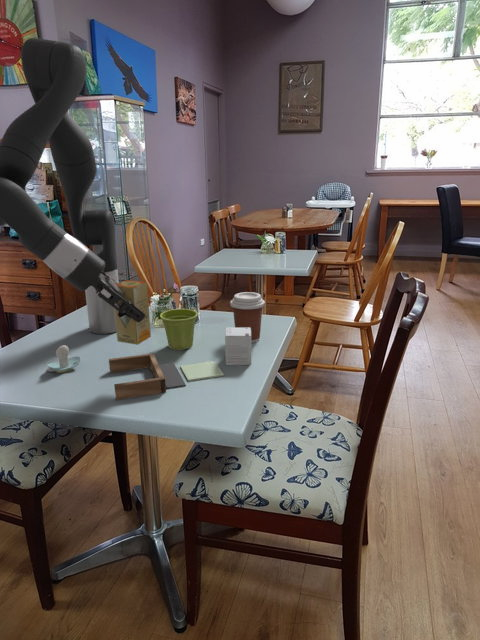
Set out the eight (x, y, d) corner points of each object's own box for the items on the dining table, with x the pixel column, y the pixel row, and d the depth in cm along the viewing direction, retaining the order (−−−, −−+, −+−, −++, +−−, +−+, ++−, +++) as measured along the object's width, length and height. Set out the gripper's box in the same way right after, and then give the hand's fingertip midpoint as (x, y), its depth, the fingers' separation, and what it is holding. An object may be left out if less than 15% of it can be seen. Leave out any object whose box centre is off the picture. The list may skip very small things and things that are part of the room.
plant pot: (192, 354, 119) (191, 320, 116) (156, 351, 121) (154, 318, 118) (203, 341, 128) (202, 309, 125) (169, 339, 130) (167, 308, 127)
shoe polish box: (131, 333, 105) (126, 279, 101) (150, 336, 103) (147, 282, 99) (117, 341, 101) (112, 285, 97) (137, 344, 99) (133, 287, 95)
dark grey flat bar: (157, 367, 112) (157, 366, 112) (174, 364, 113) (174, 363, 113) (167, 388, 101) (166, 387, 101) (185, 385, 102) (185, 384, 102)
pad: (180, 367, 111) (180, 365, 111) (213, 362, 114) (213, 361, 114) (188, 381, 104) (188, 379, 104) (223, 375, 107) (223, 374, 106)
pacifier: (42, 370, 111) (53, 377, 107) (38, 345, 110) (48, 351, 105) (72, 362, 116) (84, 368, 112) (69, 337, 114) (80, 342, 110)
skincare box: (226, 355, 118) (225, 327, 116) (251, 355, 118) (250, 326, 116) (225, 365, 112) (224, 335, 110) (251, 365, 112) (251, 335, 110)
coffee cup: (266, 334, 133) (267, 291, 129) (262, 345, 124) (262, 300, 120) (234, 332, 134) (233, 290, 130) (227, 344, 126) (226, 299, 122)
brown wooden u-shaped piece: (109, 371, 110) (108, 359, 109) (153, 365, 113) (153, 353, 112) (116, 400, 96) (114, 386, 95) (166, 392, 99) (165, 378, 98)
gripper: (88, 254, 87) (157, 309, 94) (85, 241, 100) (146, 291, 107) (61, 285, 87) (132, 338, 94) (61, 268, 100) (124, 316, 107)
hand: (139, 313), depth 101 cm, fingers closed on shoe polish box, 7 cm apart
